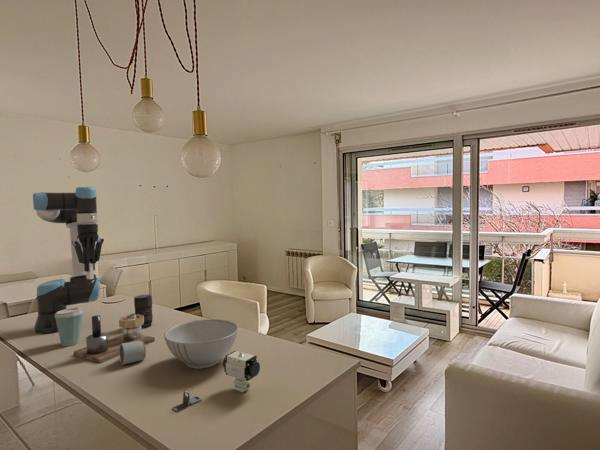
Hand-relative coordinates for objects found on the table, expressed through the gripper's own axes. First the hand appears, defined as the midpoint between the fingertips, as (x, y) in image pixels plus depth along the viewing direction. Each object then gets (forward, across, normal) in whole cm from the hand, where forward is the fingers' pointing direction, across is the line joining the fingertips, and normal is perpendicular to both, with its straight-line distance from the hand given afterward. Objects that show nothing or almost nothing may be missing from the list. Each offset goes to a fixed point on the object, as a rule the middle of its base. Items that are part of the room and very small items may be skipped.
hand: (90, 278), depth 157 cm
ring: (+21, +10, -13) cm, 26 cm away
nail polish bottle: (+27, -7, -13) cm, 31 cm away
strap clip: (+29, -18, -73) cm, 81 cm away
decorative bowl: (+29, +7, -56) cm, 63 cm away
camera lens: (+29, +26, 0) cm, 39 cm away
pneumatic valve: (+29, -4, -82) cm, 87 cm away
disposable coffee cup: (+29, -4, +10) cm, 31 cm away
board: (+28, +2, -13) cm, 31 cm away
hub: (+27, +10, -13) cm, 31 cm away
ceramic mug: (+29, -4, -30) cm, 42 cm away
